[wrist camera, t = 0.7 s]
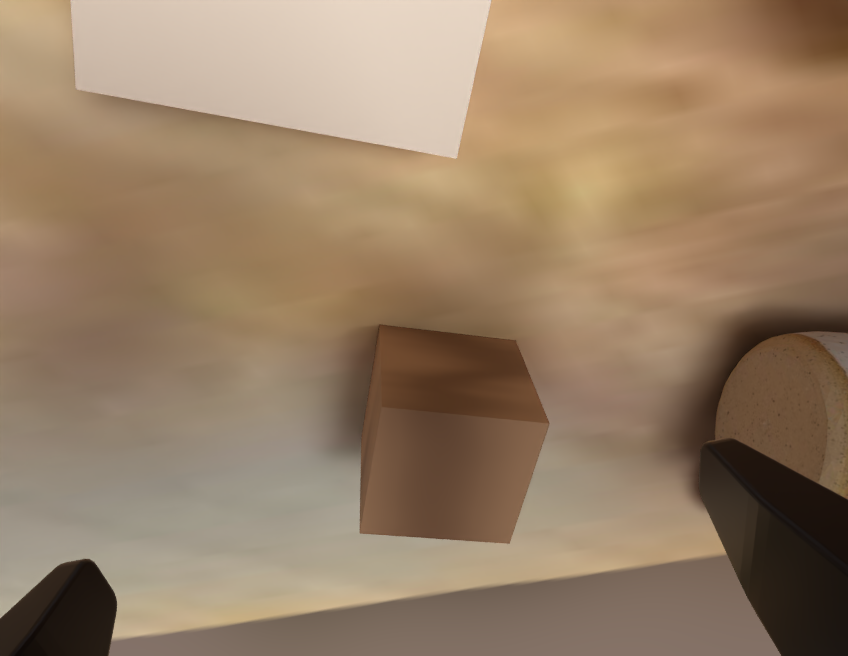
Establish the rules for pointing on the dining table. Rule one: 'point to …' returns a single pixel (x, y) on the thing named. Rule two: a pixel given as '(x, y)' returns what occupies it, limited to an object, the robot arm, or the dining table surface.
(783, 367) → the ceramic mug
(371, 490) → the walnut cube
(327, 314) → the dining table surface
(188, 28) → the cream block
